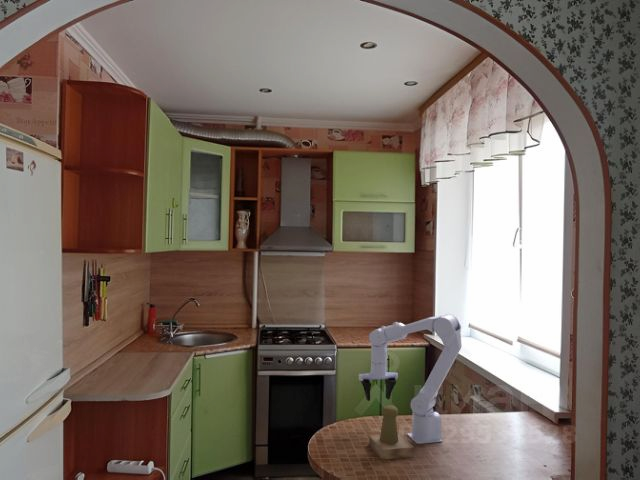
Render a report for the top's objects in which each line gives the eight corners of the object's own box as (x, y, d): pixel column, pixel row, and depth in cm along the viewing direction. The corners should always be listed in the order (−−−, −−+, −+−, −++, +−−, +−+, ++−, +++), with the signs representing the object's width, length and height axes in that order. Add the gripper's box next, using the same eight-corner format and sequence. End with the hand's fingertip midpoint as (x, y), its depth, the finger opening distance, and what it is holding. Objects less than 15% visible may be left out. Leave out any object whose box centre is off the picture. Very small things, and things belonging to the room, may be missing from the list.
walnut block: (399, 442, 163) (399, 433, 163) (413, 456, 152) (414, 447, 152) (369, 444, 160) (369, 435, 160) (381, 459, 149) (381, 450, 149)
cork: (398, 444, 153) (399, 410, 153) (379, 443, 154) (380, 408, 154) (398, 437, 159) (399, 404, 159) (380, 435, 160) (381, 402, 160)
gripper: (392, 358, 180) (392, 394, 180) (356, 359, 176) (355, 396, 176) (400, 363, 173) (399, 400, 173) (362, 364, 169) (361, 403, 170)
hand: (377, 399), depth 174 cm, fingers open, 7 cm apart
